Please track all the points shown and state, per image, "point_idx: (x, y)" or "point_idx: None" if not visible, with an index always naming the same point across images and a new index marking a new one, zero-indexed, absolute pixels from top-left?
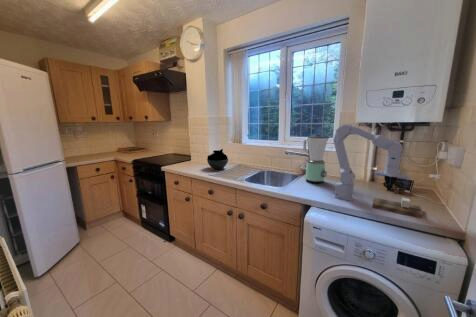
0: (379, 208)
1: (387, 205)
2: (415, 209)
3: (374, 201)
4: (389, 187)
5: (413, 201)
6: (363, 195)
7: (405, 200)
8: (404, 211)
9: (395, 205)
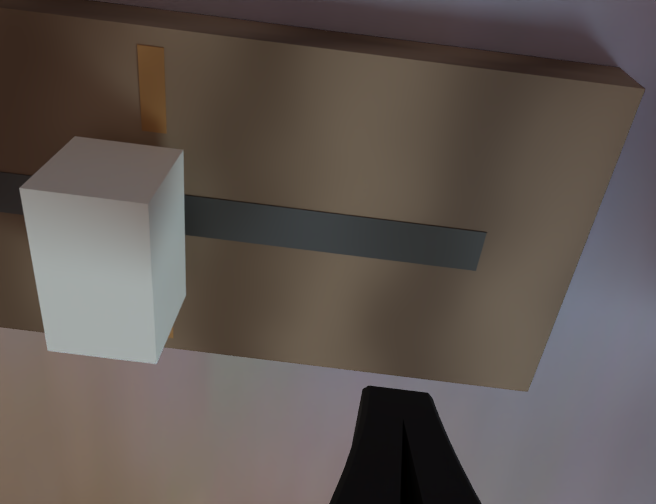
0: (511, 55)
1: (388, 142)
2: (2, 172)
3: (571, 231)
4: (401, 455)
5: (78, 500)
6: (610, 472)
7: (97, 241)
8: (144, 21)
9: (265, 205)
